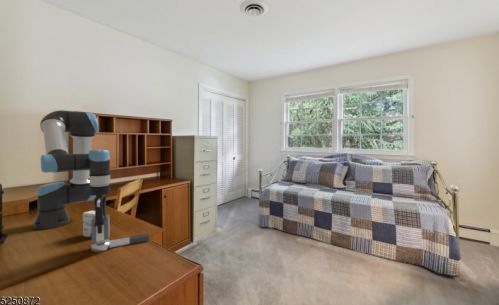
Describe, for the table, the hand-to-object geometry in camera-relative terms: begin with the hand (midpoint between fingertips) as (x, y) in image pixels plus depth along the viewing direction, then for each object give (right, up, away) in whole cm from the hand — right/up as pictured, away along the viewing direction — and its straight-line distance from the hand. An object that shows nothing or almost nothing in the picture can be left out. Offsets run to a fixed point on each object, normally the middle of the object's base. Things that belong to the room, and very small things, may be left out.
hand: (101, 237), depth 97 cm
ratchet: (+7, -5, +4) cm, 9 cm away
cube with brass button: (0, 0, 0) cm, 0 cm away
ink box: (-13, -5, +14) cm, 19 cm away
